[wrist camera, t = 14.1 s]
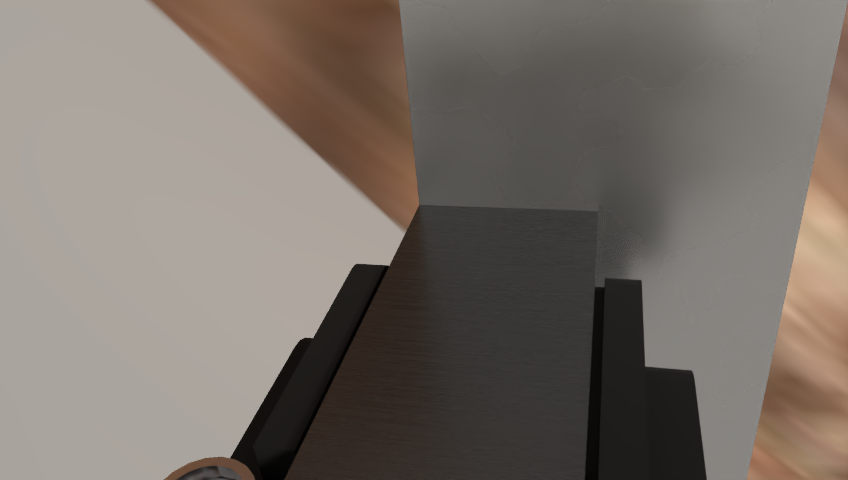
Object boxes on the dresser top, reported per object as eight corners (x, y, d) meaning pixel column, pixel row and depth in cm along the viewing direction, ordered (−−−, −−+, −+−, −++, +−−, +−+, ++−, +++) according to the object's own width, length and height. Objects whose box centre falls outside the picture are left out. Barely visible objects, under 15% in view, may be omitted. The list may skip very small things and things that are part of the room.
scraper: (459, 491, 17) (340, 1009, 10) (401, -164, 10) (-165, -60, 3) (722, 527, 16) (810, 1161, 9) (866, -207, 9) (2155, -222, 1)
